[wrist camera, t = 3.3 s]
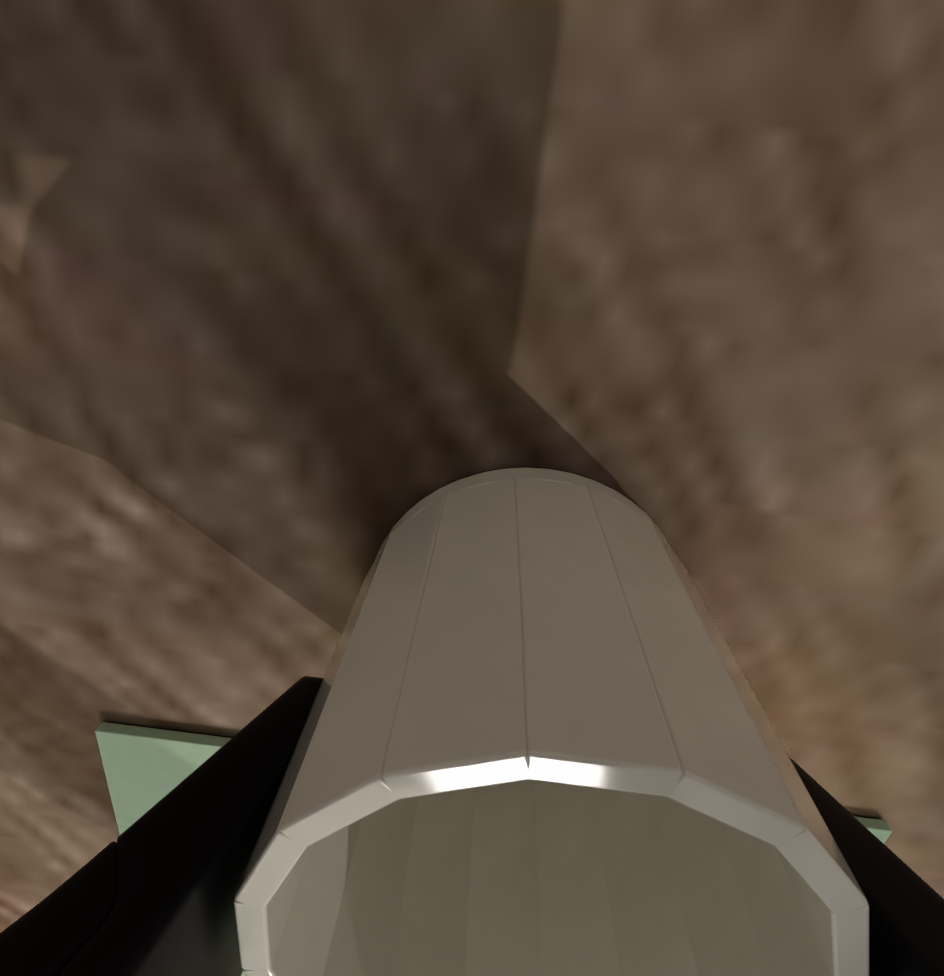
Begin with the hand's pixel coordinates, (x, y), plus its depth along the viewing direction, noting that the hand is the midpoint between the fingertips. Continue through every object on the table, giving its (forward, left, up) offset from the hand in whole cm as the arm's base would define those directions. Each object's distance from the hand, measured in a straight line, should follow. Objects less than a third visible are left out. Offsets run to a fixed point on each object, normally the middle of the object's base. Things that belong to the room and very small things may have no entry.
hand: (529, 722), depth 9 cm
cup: (0, 0, -3) cm, 3 cm away
